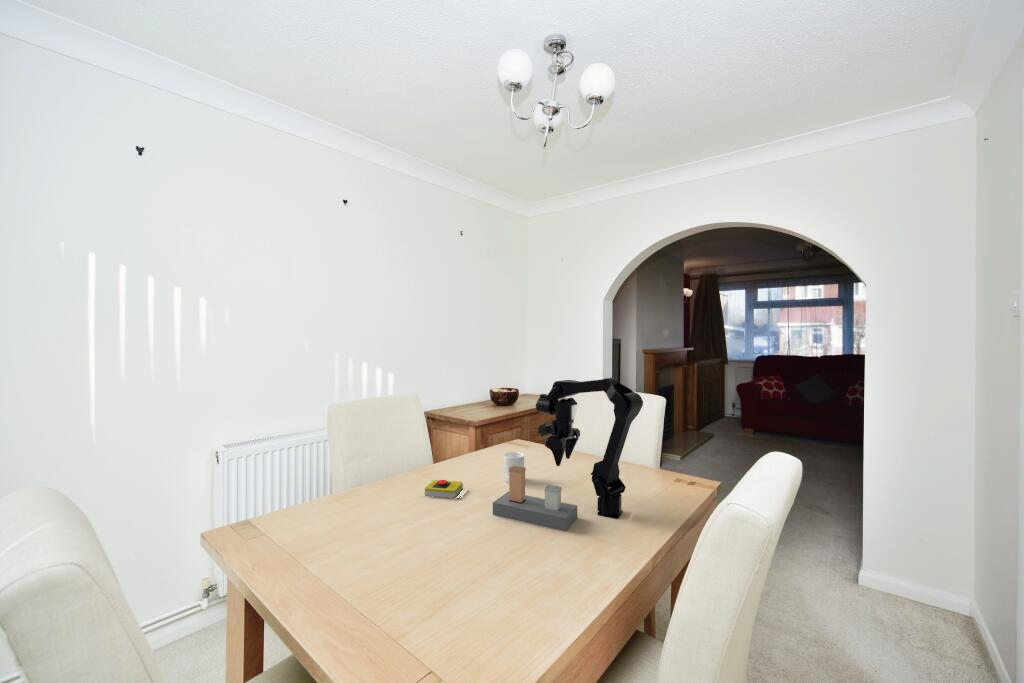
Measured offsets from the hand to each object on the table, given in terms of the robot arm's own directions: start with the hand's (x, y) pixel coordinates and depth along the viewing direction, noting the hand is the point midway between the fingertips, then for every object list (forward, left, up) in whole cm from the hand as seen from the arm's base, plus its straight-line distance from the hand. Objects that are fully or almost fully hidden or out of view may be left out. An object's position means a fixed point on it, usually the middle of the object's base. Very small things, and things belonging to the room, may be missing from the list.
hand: (563, 462), depth 150 cm
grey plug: (-4, +19, -12) cm, 23 cm away
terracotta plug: (+8, +19, -8) cm, 22 cm away
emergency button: (+38, +16, -13) cm, 43 cm away
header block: (+2, +19, -12) cm, 23 cm away
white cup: (+22, -6, -12) cm, 26 cm away
